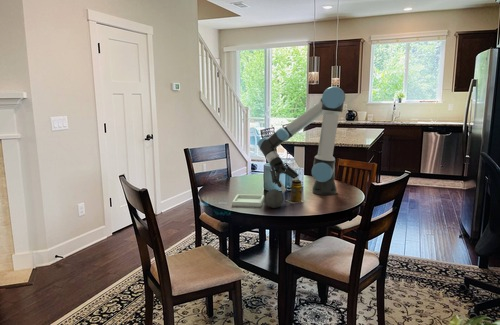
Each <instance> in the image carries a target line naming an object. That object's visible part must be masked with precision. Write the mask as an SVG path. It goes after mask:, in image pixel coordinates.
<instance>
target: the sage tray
mask: <svg viewBox="0 0 500 325" xmlns="http://www.w3.org/2000/svg"><path fill="white" fill-rule="evenodd" d="M264 201H265V195H264V194H243V193H242V194H241V193H238V194H236V195H235V197H234V198H233V200H232V201H231V205H232V207H246V208H248V207H249V208H262V205H263V203H264Z"/></svg>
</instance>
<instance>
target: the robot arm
mask: <svg viewBox="0 0 500 325" xmlns="http://www.w3.org/2000/svg"><path fill="white" fill-rule="evenodd" d="M344 102H346V93H345V91H344V90H343V89H342V88H340V87H339V86H329V87H327V88H326V89H325V90H324V91H323V93H322V95H321V98H320V99H319V101H318V102H317V103H315V104H314V105H312V107H310V108H309V109H307V110H306V111H304V112H303V113H302V114H300V115H299V116H298V117H296V118H294V120H292V121H291V122H290V123H288V124H287V125H286V126H284V127H280V128H279V129H277V130H276V131H275V132H274V133H273V134H272V135H270V136H269V137H266V136H265V137H262V138H261V139H259V140H258V142H257V146H258V148H259V150H260V151H261V153H262V155H263V156H264V158H265V159H266V160H267V162H268V163H269V166H270V169H269V171H270V175H271V182H272V183H273V184H275V185H277V187H278V188H279V189H280V191H281V193H282V194H284V193H285V192H286V191H287V188H286V187H285V185H284V184H283V182H282V180H280V175H281V174H284V175H286V176H289V177H290V178H291V179H293V180H300V179H299V178H298V177H299V174H298V173H297V172H296V171H295V170H294V169H293V168H291V166H290V165H289V164H288V163H286V164H285V165H284V163H283V162H284V161H283V160H282V158H281V157H280V155H279V153H278V152H277V151H276V149H277V148H278V147H279V146H281V145H282V144H283V143H285V142H287V141H289V139H291V138H292V137H294V136H295V135H296V134H298V133H299V132H300V131H302V130H303V129H305V128H306V127H307V126H308V125H310V124H312V123H313V122H314V121H316V120H318V119H319V118H320V117H322V121H321V128H320V135H319V141H318V142H319V143H318V149H317V154H316V155H315V156H314V159H313V164H312V165H313V166H312V168H311V175H312V177H313V179H314V182H313V183H314V184H313V185H312V190H311V191H312V192H311V193H313V194H316V195H319V196H334V195H336V194H337V193H338V189H337V186H336V182H335V174H336V173H335V170H336V158H335V156H333V155H334V151H335V150H334V149H335V145H336V144H335V142H336V137H337V136H336V135H337V131H338V130H337V129H338V123H339V118H340V115H341V114H342V113H343V109H344ZM322 115H323V116H322ZM301 186H302V187H303V185H302V184H301Z"/></svg>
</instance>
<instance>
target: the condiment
mask: <svg viewBox="0 0 500 325" xmlns="http://www.w3.org/2000/svg"><path fill="white" fill-rule="evenodd" d="M301 185H302V180H300V179H299V180H294V179H293V180H291V186H290V188H291V189H290V199H286V200H285V199H284V201H286V202H288V203H291V204H293V205H294V204H298V203H304V202H305V200H302V196H303V195H302V193H303V190H302V189H303V185H302V186H301Z"/></svg>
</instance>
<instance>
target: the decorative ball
mask: <svg viewBox="0 0 500 325" xmlns="http://www.w3.org/2000/svg"><path fill="white" fill-rule="evenodd" d="M264 201H265V203H266V205H267V206H268V207H270V208H272V209H278V208H279V207H281V206H282V205H283V203H284V201H285V196H284V193H283V192H282V191H281V190H279V189H276V188H275V189H270V190H268V191H267V193H266V195H265V196H264Z"/></svg>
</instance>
